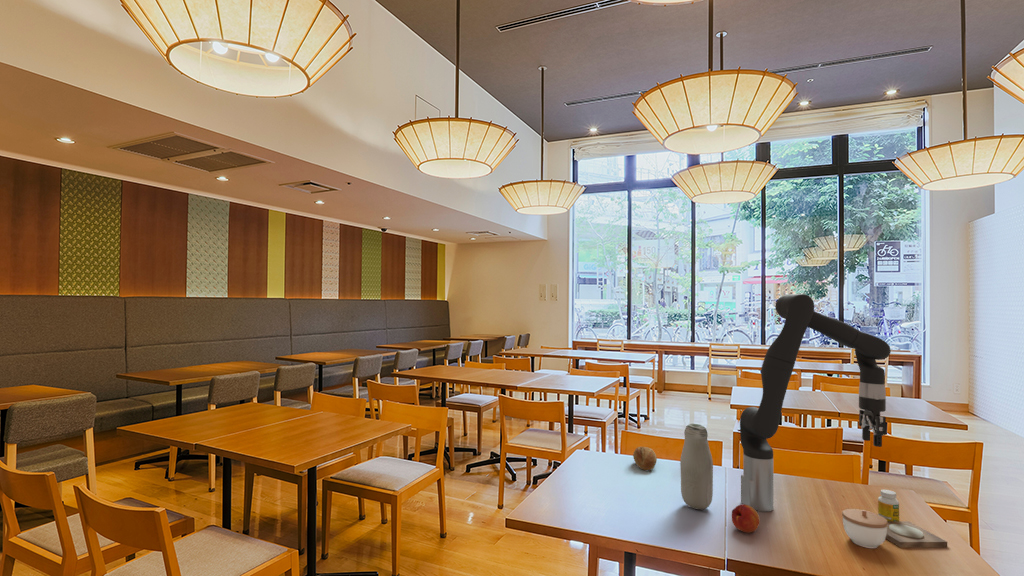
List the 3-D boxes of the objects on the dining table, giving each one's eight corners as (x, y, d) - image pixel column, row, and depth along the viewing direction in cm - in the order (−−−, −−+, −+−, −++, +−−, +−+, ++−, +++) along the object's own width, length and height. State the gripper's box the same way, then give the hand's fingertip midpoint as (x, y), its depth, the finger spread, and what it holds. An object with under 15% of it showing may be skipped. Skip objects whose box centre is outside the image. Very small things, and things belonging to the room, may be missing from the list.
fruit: (726, 524, 151) (726, 499, 151) (752, 525, 151) (752, 499, 151) (737, 537, 143) (737, 509, 143) (765, 537, 143) (765, 510, 143)
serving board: (900, 547, 138) (900, 539, 138) (865, 526, 151) (865, 519, 151) (947, 547, 139) (947, 539, 139) (908, 526, 152) (908, 519, 152)
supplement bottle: (882, 516, 158) (881, 487, 158) (902, 523, 154) (901, 492, 154) (875, 520, 155) (875, 490, 156) (895, 527, 151) (895, 496, 151)
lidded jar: (833, 534, 145) (833, 503, 146) (866, 533, 146) (866, 502, 146) (862, 553, 135) (861, 519, 135) (897, 552, 135) (897, 518, 136)
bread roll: (634, 471, 198) (634, 452, 198) (631, 460, 213) (632, 442, 213) (658, 473, 196) (658, 453, 196) (654, 461, 211) (654, 443, 211)
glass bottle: (716, 507, 164) (716, 424, 165) (705, 516, 156) (705, 430, 157) (688, 498, 171) (688, 419, 172) (675, 507, 163) (676, 424, 164)
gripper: (851, 392, 176) (850, 437, 175) (869, 398, 162) (868, 447, 161) (874, 394, 174) (874, 439, 173) (895, 400, 160) (894, 449, 159)
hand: (871, 443), depth 167 cm, fingers open, 8 cm apart
